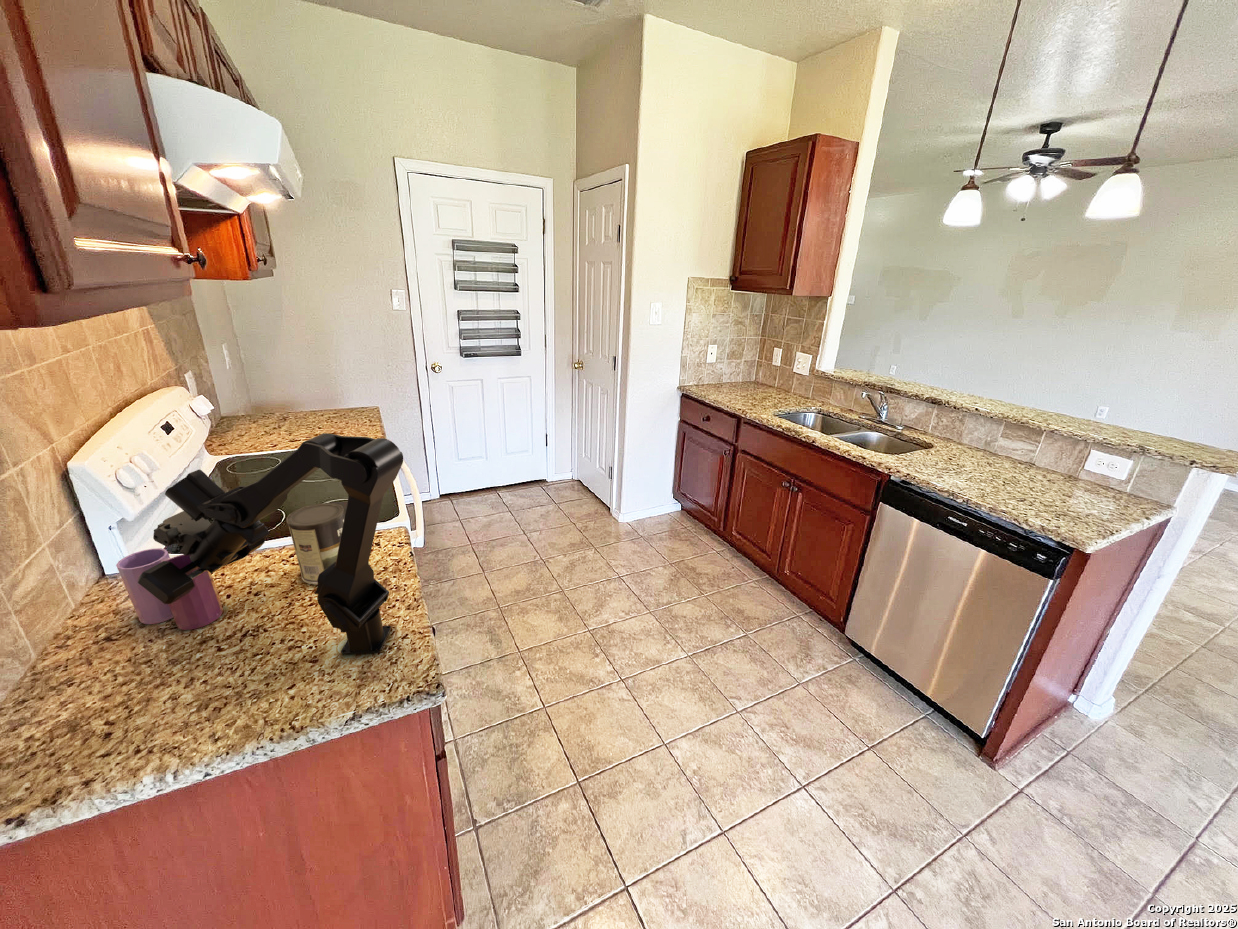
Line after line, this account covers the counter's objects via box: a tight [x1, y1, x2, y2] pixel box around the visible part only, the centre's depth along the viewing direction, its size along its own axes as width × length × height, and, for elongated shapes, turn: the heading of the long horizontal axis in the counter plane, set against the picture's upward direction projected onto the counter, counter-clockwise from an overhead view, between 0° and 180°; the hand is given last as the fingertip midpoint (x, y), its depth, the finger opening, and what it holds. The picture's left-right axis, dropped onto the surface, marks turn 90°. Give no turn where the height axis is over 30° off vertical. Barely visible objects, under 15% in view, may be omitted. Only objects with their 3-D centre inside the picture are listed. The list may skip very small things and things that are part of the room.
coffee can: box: [285, 502, 345, 586], centre depth 104 cm, size 10×10×14 cm
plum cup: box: [166, 553, 224, 631], centre depth 90 cm, size 7×7×12 cm
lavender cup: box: [115, 547, 174, 625], centre depth 91 cm, size 7×7×12 cm
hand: (188, 582), depth 89 cm, fingers open, 9 cm apart
